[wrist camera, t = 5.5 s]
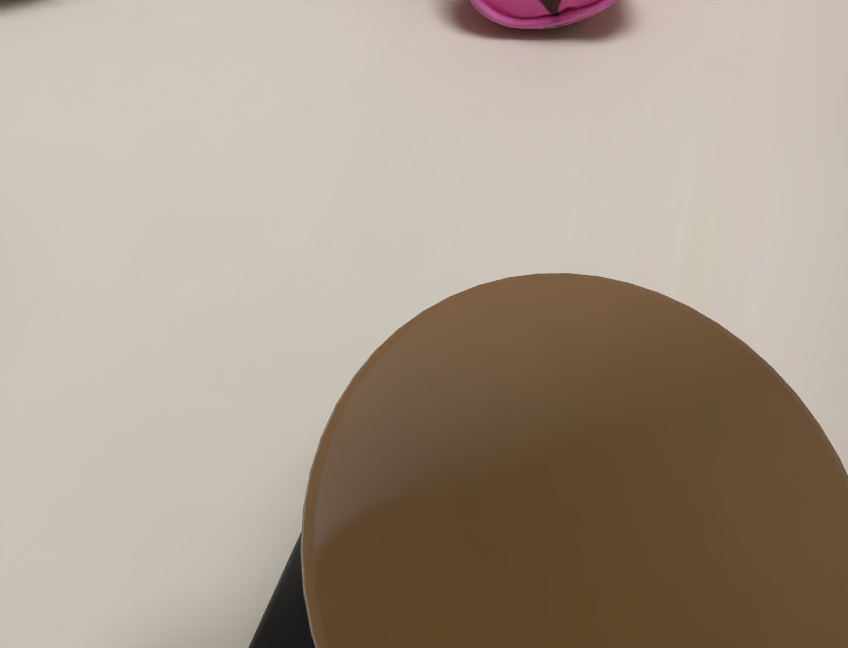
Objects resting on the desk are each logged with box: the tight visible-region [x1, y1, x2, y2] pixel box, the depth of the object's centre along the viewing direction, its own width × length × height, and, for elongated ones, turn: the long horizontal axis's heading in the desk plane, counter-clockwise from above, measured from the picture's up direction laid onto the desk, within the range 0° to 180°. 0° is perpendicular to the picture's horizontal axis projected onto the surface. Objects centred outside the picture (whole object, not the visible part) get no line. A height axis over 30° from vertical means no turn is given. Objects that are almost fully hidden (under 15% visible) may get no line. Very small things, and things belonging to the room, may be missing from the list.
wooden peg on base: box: [301, 273, 848, 648], centre depth 9 cm, size 5×4×13 cm
